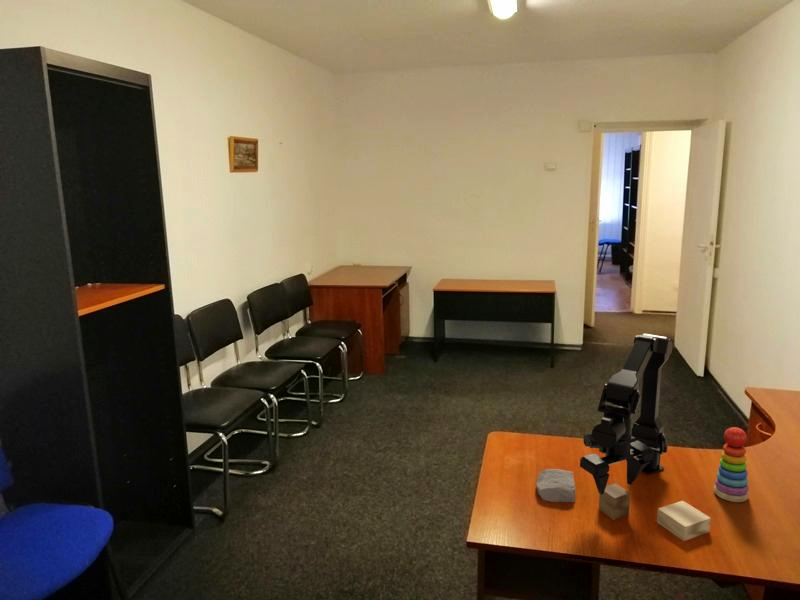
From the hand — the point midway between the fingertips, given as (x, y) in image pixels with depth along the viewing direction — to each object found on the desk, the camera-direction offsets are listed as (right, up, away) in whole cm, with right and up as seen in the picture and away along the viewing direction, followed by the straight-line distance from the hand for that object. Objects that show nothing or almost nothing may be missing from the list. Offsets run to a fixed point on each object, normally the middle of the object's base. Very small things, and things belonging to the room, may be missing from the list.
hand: (615, 489), depth 145 cm
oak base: (+14, -8, -5) cm, 17 cm away
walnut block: (0, -6, +1) cm, 6 cm away
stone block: (-12, -4, +12) cm, 17 cm away
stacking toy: (+33, -4, +7) cm, 34 cm away
